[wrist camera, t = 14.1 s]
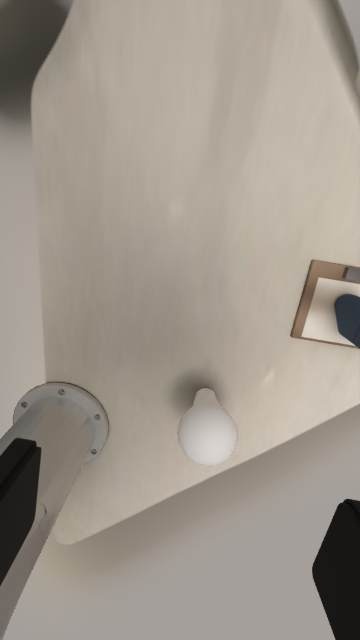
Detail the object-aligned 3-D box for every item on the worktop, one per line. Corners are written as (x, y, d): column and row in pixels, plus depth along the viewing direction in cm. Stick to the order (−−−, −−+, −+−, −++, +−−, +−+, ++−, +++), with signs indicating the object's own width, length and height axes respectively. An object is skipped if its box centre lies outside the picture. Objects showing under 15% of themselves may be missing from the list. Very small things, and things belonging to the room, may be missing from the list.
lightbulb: (197, 421, 41) (197, 489, 30) (172, 386, 39) (163, 444, 29) (238, 400, 40) (253, 464, 29) (213, 363, 38) (220, 415, 28)
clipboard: (382, 351, 37) (389, 355, 35) (290, 335, 37) (293, 339, 35) (410, 276, 34) (419, 278, 33) (311, 259, 34) (316, 261, 33)
